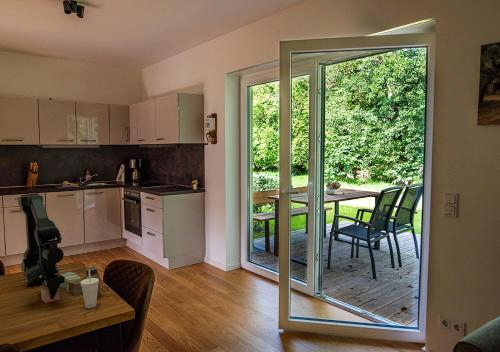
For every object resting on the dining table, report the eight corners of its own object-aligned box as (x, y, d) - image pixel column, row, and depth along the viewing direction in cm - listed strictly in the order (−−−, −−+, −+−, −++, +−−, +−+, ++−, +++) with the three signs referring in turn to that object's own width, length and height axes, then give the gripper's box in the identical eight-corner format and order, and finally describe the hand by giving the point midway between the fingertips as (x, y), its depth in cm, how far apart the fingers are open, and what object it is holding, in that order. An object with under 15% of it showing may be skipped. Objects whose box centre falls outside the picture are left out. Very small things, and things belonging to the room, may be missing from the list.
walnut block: (68, 293, 150) (68, 281, 150) (80, 290, 154) (80, 278, 154) (75, 296, 147) (74, 284, 147) (87, 292, 151) (86, 280, 151)
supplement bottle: (94, 299, 144) (93, 271, 143) (81, 298, 145) (79, 270, 144) (103, 293, 149) (102, 266, 149) (90, 293, 151) (89, 265, 150)
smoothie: (82, 311, 134) (80, 273, 132) (81, 304, 139) (79, 268, 138) (101, 307, 136) (99, 270, 135) (99, 301, 142) (97, 265, 141)
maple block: (65, 288, 156) (64, 277, 155) (78, 286, 159) (77, 274, 158) (68, 292, 152) (67, 280, 151) (81, 289, 155) (80, 277, 155)
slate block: (59, 286, 159) (58, 275, 158) (70, 282, 163) (69, 271, 163) (66, 288, 156) (66, 277, 156) (77, 284, 161) (76, 273, 160)
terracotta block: (41, 299, 145) (40, 287, 145) (55, 295, 148) (54, 283, 148) (45, 303, 141) (44, 290, 141) (59, 299, 145) (58, 286, 144)
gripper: (18, 257, 145) (21, 296, 146) (30, 267, 131) (33, 310, 132) (49, 251, 152) (51, 288, 154) (64, 261, 139) (66, 301, 140)
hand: (50, 296), depth 145 cm, fingers closed on terracotta block, 5 cm apart
